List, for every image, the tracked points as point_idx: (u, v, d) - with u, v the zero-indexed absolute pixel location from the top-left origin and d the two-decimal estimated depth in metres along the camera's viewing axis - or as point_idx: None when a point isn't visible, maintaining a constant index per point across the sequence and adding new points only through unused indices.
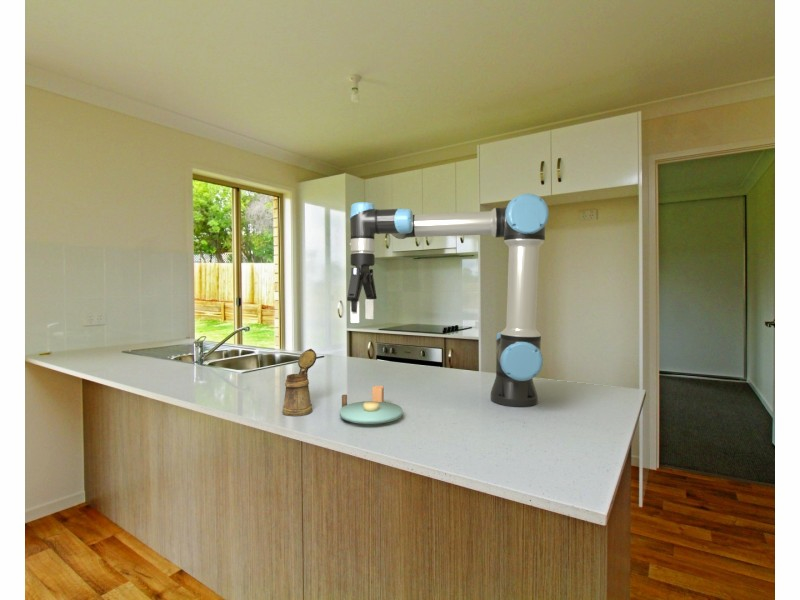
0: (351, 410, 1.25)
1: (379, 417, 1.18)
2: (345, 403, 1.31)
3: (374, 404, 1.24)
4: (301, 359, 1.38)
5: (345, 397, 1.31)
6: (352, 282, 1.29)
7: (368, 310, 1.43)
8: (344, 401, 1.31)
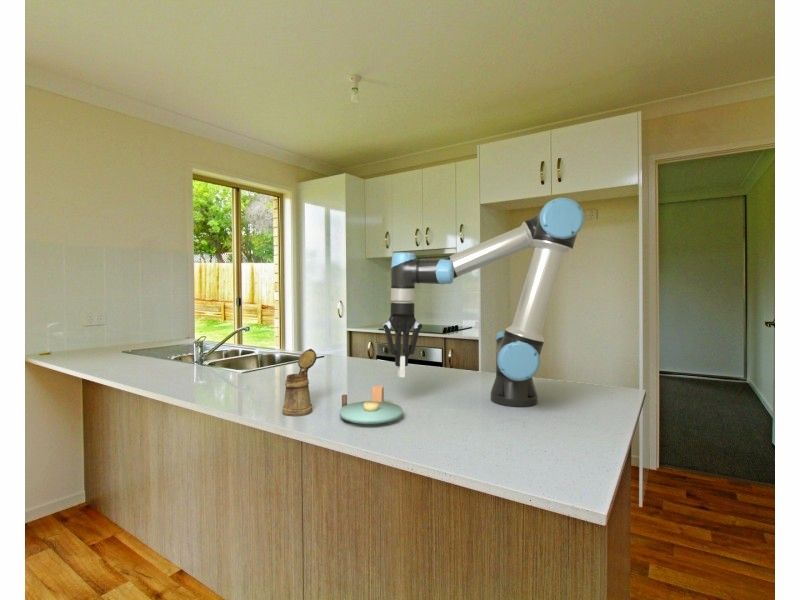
0: (351, 410, 1.25)
1: (379, 417, 1.18)
2: (345, 403, 1.31)
3: (374, 404, 1.24)
4: (301, 359, 1.38)
5: (345, 397, 1.31)
6: (387, 338, 1.36)
7: None
8: (344, 401, 1.31)
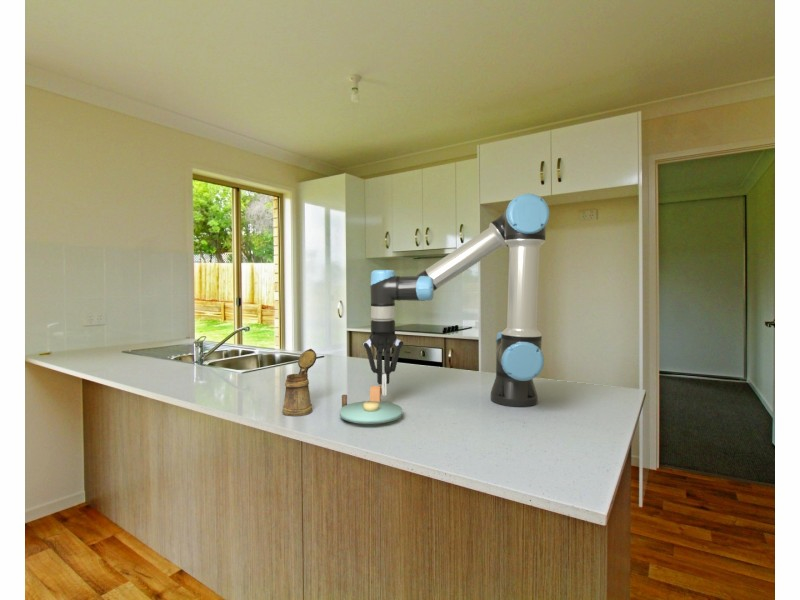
0: (351, 410, 1.24)
1: (381, 416, 1.19)
2: (345, 403, 1.31)
3: (374, 404, 1.24)
4: (301, 359, 1.38)
5: (345, 397, 1.31)
6: (368, 357, 1.35)
7: None
8: (344, 401, 1.31)
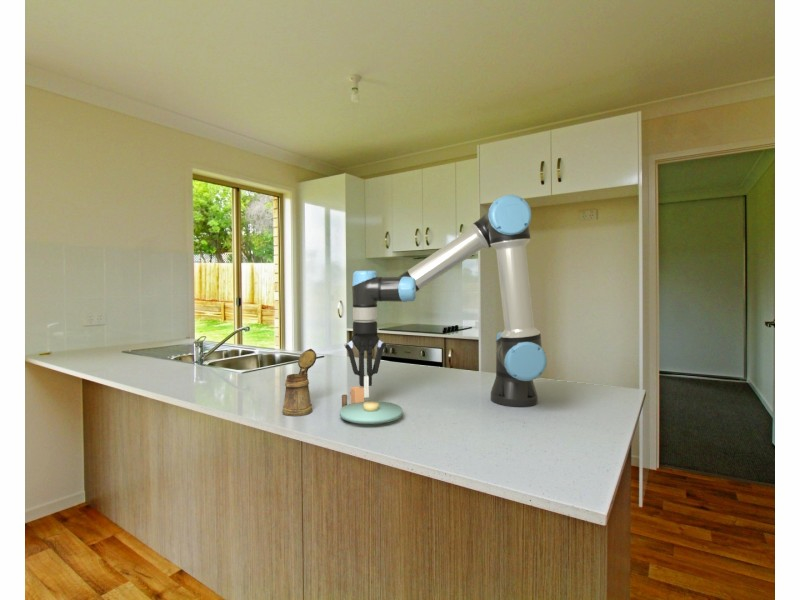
0: (355, 413, 1.21)
1: (393, 413, 1.21)
2: (345, 403, 1.31)
3: (376, 403, 1.25)
4: (301, 359, 1.38)
5: (345, 397, 1.31)
6: (350, 358, 1.33)
7: None
8: (344, 401, 1.31)
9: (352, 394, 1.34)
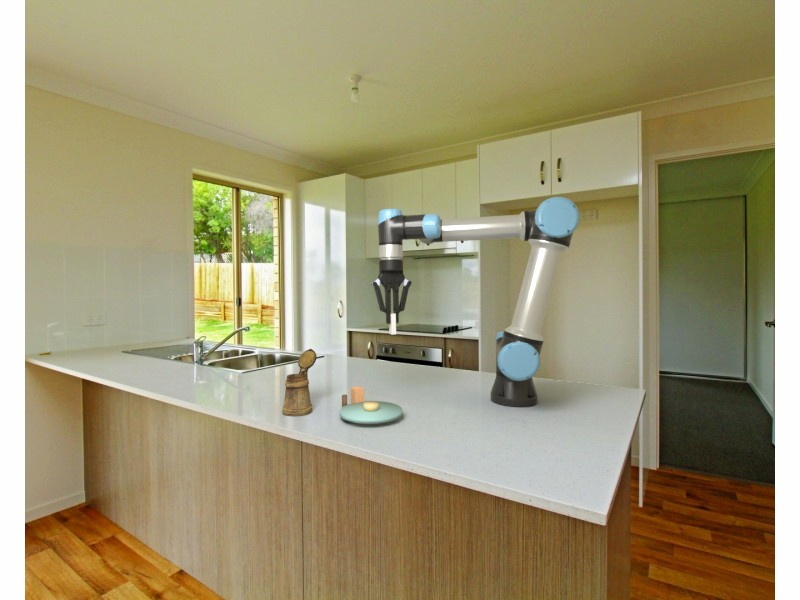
0: (355, 413, 1.21)
1: (393, 413, 1.21)
2: (345, 403, 1.31)
3: (376, 403, 1.25)
4: (301, 359, 1.38)
5: (345, 397, 1.31)
6: (377, 296, 1.36)
7: None
8: (344, 401, 1.31)
9: (352, 394, 1.34)
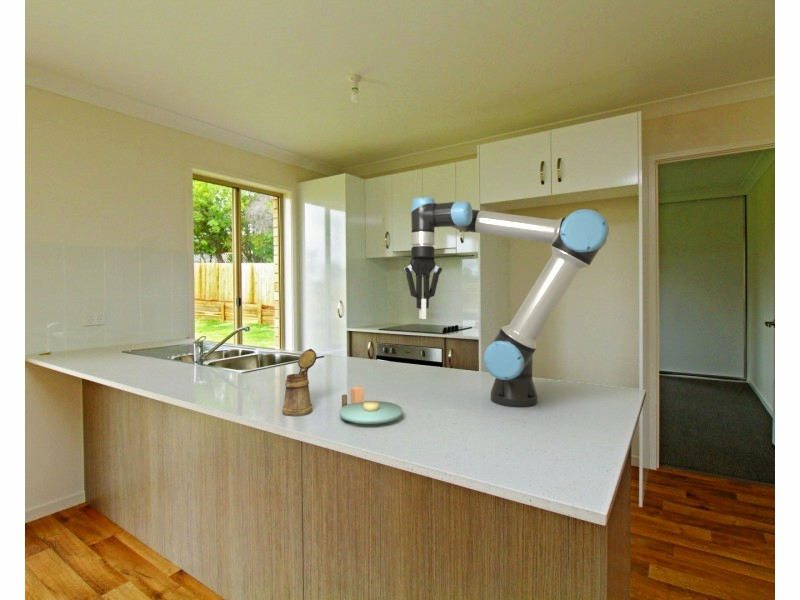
0: (355, 413, 1.21)
1: (393, 413, 1.21)
2: (345, 403, 1.31)
3: (376, 403, 1.25)
4: (301, 359, 1.38)
5: (345, 397, 1.31)
6: (408, 281, 1.41)
7: None
8: (344, 401, 1.31)
9: (352, 394, 1.34)
